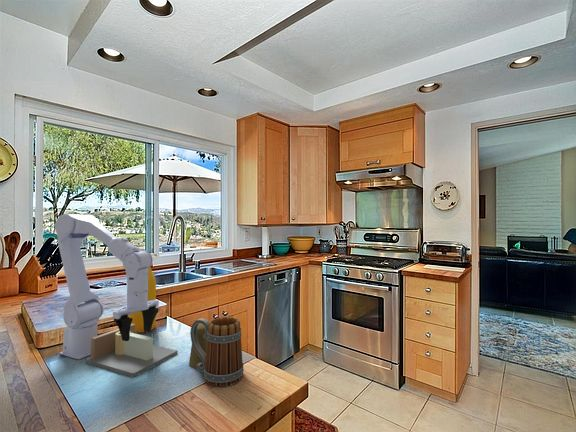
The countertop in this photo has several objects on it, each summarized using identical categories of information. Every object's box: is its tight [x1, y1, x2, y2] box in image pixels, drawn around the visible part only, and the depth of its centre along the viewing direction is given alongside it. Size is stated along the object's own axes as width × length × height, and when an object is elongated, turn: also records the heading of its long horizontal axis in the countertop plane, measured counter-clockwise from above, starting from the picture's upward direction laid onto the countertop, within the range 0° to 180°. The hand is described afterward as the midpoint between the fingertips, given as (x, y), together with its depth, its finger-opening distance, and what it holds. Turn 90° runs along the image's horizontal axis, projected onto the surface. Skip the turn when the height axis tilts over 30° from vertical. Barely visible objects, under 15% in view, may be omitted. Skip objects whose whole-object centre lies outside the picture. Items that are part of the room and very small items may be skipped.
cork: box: [188, 324, 207, 369], centre depth 90 cm, size 6×6×11 cm
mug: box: [189, 316, 245, 388], centre depth 83 cm, size 16×11×15 cm
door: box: [115, 331, 154, 361], centre depth 93 cm, size 14×4×6 cm, turn 66°
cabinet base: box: [85, 324, 178, 378], centre depth 93 cm, size 20×16×7 cm
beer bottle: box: [129, 265, 157, 334], centre depth 118 cm, size 9×9×29 cm
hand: (136, 335), depth 93 cm, fingers open, 7 cm apart
